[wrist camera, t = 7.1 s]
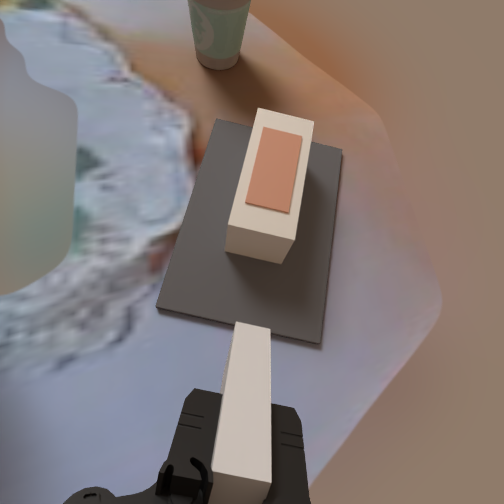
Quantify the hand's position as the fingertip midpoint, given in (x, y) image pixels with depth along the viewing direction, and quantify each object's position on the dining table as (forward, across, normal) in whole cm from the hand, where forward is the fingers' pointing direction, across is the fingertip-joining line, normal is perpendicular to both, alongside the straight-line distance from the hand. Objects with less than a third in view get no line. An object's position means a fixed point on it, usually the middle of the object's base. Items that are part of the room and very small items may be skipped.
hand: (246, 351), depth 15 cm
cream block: (+18, 0, -2) cm, 18 cm away
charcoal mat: (+24, 0, -1) cm, 24 cm away
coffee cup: (+41, -10, +16) cm, 45 cm away
